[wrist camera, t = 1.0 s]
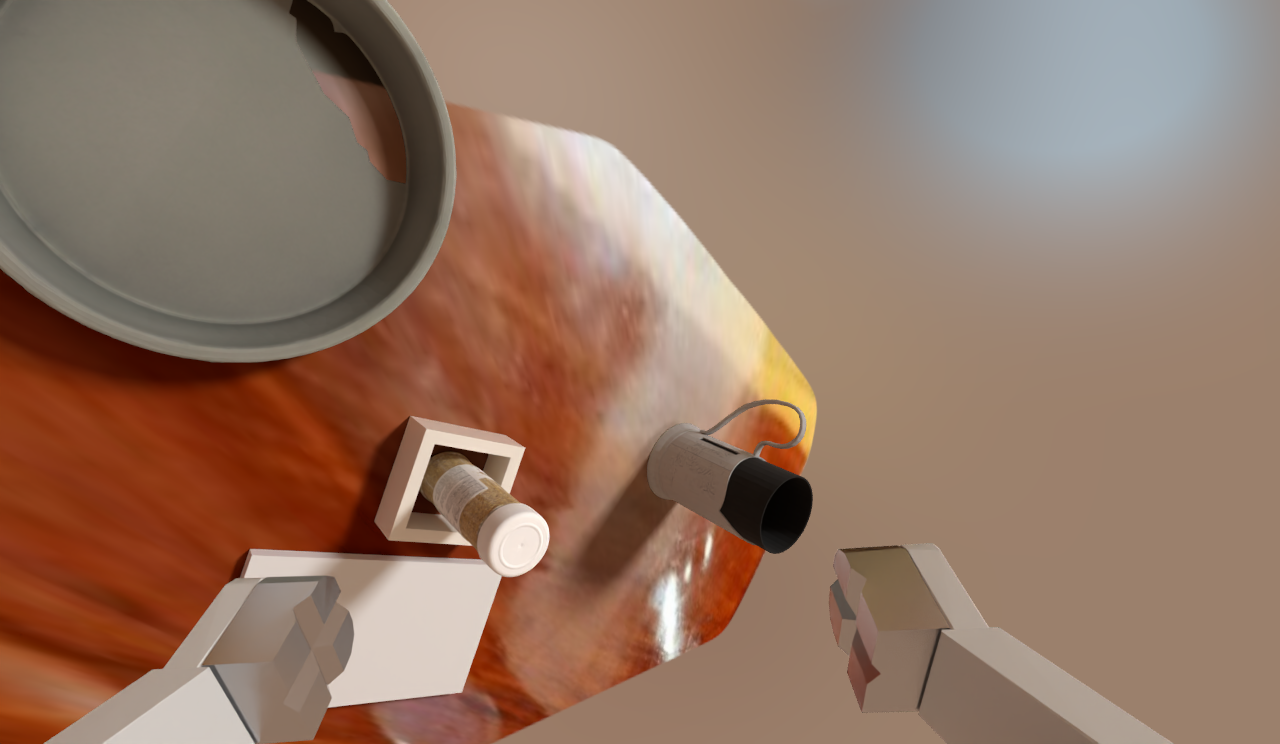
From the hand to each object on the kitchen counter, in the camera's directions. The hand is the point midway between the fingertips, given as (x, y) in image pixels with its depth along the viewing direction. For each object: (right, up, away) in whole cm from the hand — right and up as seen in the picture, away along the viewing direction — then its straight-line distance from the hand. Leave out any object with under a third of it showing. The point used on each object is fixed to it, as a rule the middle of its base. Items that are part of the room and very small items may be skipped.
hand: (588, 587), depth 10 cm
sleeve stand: (-15, -5, +40) cm, 43 cm away
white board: (-21, -17, +39) cm, 47 cm away
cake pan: (-24, +17, +27) cm, 40 cm away
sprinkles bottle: (-15, -5, +40) cm, 43 cm away
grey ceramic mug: (+6, -4, +57) cm, 58 cm away
